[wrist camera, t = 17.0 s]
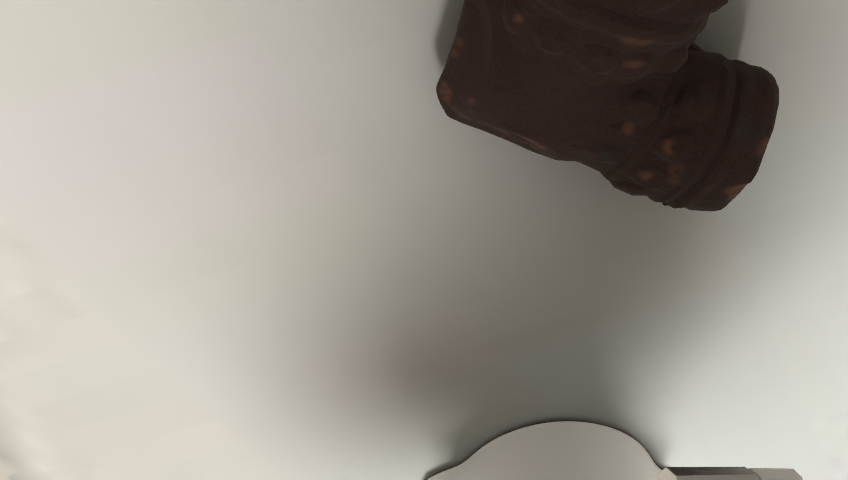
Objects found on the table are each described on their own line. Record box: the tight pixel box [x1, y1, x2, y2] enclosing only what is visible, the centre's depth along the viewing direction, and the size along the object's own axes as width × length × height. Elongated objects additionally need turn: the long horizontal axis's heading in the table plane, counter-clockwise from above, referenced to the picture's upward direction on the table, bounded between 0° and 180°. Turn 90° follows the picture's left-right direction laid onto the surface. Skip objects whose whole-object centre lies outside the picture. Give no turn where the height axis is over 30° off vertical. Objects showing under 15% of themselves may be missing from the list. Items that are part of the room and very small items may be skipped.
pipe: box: [436, 0, 779, 211], centre depth 35 cm, size 10×15×15 cm
